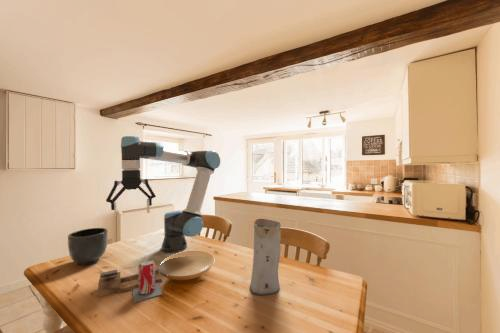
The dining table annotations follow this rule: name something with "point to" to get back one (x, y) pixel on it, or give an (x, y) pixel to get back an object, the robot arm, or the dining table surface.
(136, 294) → the mat
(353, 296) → the dining table surface
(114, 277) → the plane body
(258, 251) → the vase
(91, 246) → the planter
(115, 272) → the blue-grey rectangular panel
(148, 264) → the beverage can
